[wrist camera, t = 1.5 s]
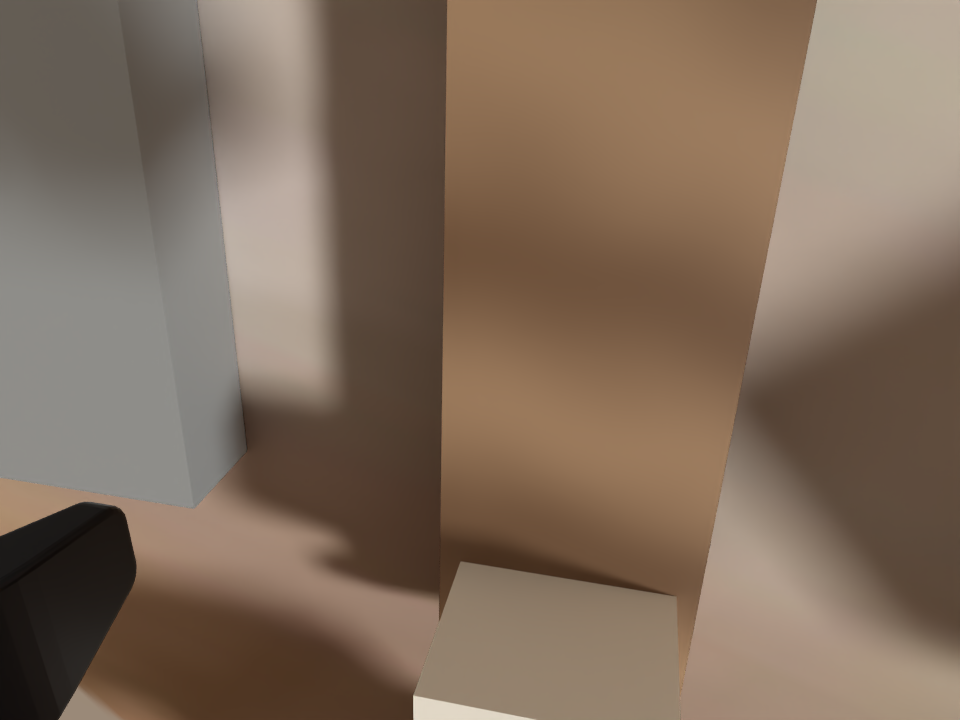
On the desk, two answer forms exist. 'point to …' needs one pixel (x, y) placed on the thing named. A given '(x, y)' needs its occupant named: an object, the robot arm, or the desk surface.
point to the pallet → (604, 276)
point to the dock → (112, 255)
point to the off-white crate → (549, 651)
